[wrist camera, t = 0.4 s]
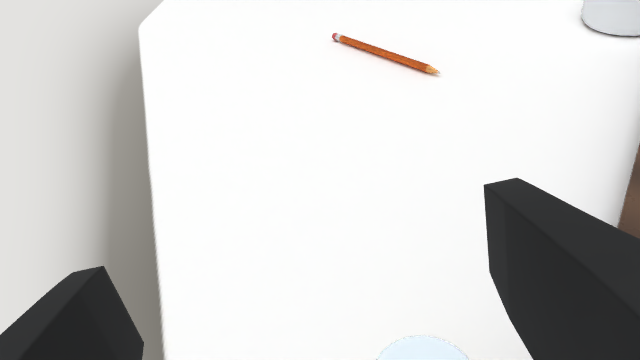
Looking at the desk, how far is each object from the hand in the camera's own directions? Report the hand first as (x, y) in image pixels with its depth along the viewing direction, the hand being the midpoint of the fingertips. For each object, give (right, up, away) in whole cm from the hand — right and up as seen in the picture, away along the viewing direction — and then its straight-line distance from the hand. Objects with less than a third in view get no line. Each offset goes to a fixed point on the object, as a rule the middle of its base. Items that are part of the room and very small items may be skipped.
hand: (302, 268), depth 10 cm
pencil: (+8, +16, +52) cm, 55 cm away
